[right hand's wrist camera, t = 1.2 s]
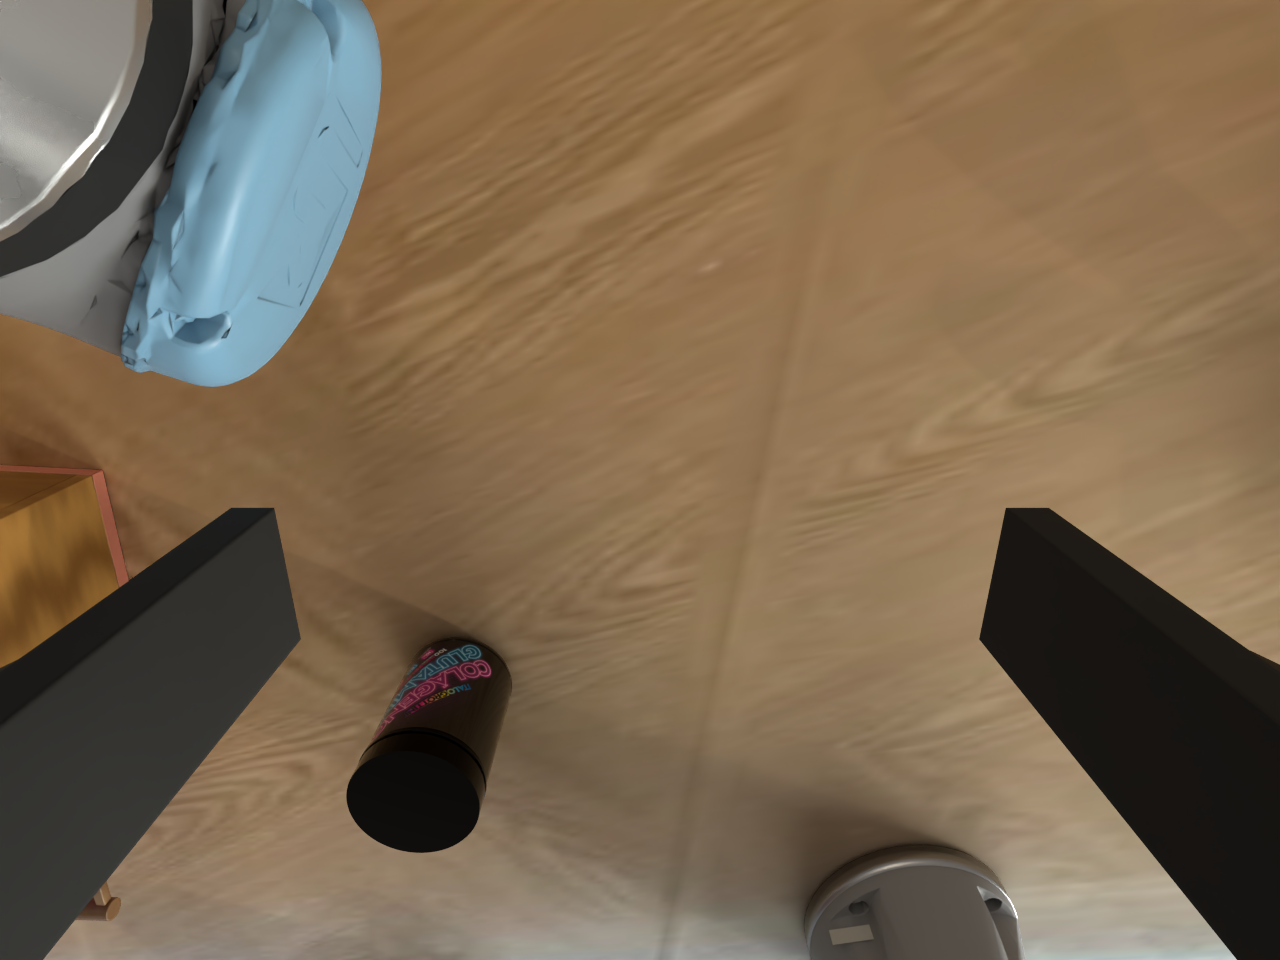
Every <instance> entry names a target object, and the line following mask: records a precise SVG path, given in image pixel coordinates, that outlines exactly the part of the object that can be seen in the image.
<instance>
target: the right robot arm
mask: <svg viewBox="0 0 1280 960" xmlns="http://www.w3.org/2000/svg"><path fill="white" fill-rule="evenodd" d="M300 639H301V638H300V633H299V628H298V624H297V619H296V614H295V609H294V604H293V599H292V594H291V589H290V584H289V579H288V574H287V569H286V564H285V559H284V554H283V550H282V545H281V540H280V535H279V530H278V525H277V520H276V515H275V510H274V508H231V509H229V510H228V511H226V512H225V513H224V514H222V515H221V516H219V517H218V518H217V519H215V520H214V521H212V522H211V523H209V524H208V525H207V526H205V527H204V528H202V529H201V530H200V531H198V532H197V533H195V534H194V535H193V536H191V537H190V538H188V539H187V540H186V541H184V542H183V543H181V544H180V545H179V546H177V547H176V548H174V549H173V550H171V551H170V552H169V553H167V554H166V555H164V556H163V557H162V558H160V559H159V560H157V561H156V562H155V563H153V564H152V565H150V566H149V567H148V568H146V569H145V570H143V571H142V572H141V573H139V574H138V575H136V576H135V577H133V578H132V579H131V580H129V581H128V582H126V583H125V584H124V585H122V586H121V587H119V588H118V589H117V590H115V591H114V592H112V593H111V594H110V595H108V596H107V597H105V598H104V599H103V600H101V601H100V602H98V603H97V604H96V605H94V606H93V607H91V608H90V609H88V610H87V611H86V612H84V613H83V614H81V615H80V616H79V617H77V618H76V619H74V620H73V621H72V622H70V623H69V624H67V625H66V626H65V627H63V628H62V629H60V630H59V631H58V632H56V633H55V634H53V635H52V636H50V637H49V638H48V639H46V640H45V641H43V642H42V643H41V644H39V645H38V646H36V647H35V648H34V649H32V650H31V651H29V652H28V653H27V654H25V655H24V656H22V657H21V658H20V659H18V660H16V661H13V662H11V663H9V664H7V665H5V666H3V667H1V668H0V960H43V959H44V958H45V956H46V955H47V954H48V953H49V951H50V950H51V949H52V948H53V946H54V945H55V944H56V943H57V941H58V940H59V939H60V938H61V937H62V935H63V934H64V933H65V932H66V930H67V929H68V928H69V927H70V925H71V924H72V923H73V922H74V920H75V919H76V918H77V917H78V915H79V914H80V913H81V912H82V910H83V909H84V908H85V907H86V905H87V904H88V903H89V902H90V900H91V899H92V898H93V897H94V895H95V894H96V893H97V892H98V891H99V889H100V888H101V887H102V886H103V884H104V883H105V882H106V881H107V879H108V878H109V877H110V876H111V874H112V873H113V872H114V871H115V869H116V868H117V867H118V866H119V864H120V863H121V862H122V861H123V859H124V858H125V857H126V856H127V854H128V853H129V852H130V851H131V850H132V848H133V847H134V846H135V845H136V843H137V842H138V841H139V840H140V838H141V837H142V836H143V835H144V833H145V832H146V831H147V830H148V828H149V827H150V826H151V825H152V823H153V822H154V821H155V820H156V818H157V817H158V816H159V815H160V813H161V812H162V811H163V810H164V808H165V807H166V806H167V805H168V804H169V802H170V801H171V800H172V799H173V797H174V796H175V795H176V794H177V792H178V791H179V790H180V789H181V787H182V786H183V785H184V784H185V782H186V781H187V780H188V779H189V777H190V776H191V775H192V774H193V772H194V771H195V770H196V769H197V767H198V766H199V765H200V764H201V763H202V761H203V760H204V759H205V758H206V756H207V755H208V754H209V753H210V751H211V750H212V749H213V748H214V746H215V745H216V744H217V743H218V741H219V740H220V739H221V738H222V736H223V735H224V734H225V733H226V731H227V730H228V729H229V728H230V726H231V725H232V724H233V723H234V722H235V720H236V719H237V718H238V717H239V715H240V714H241V713H242V712H243V710H244V709H245V708H246V707H247V705H248V704H249V703H250V702H251V700H252V699H253V698H254V697H255V695H256V694H257V693H258V692H259V690H260V689H261V688H262V687H263V685H264V684H265V683H266V682H267V680H268V679H269V678H270V677H271V676H272V674H273V673H274V672H275V671H276V669H277V668H278V667H279V666H280V664H281V663H282V662H283V661H284V659H285V658H286V657H287V656H288V654H289V653H290V652H291V651H292V649H293V648H294V647H295V646H296V644H297V643H298V642H299V641H300ZM979 639H980V641H981V642H982V643H983V644H984V646H985V647H986V648H987V649H988V651H989V652H990V653H991V654H992V656H993V657H994V658H995V659H996V661H997V662H998V663H999V664H1000V666H1001V667H1002V668H1003V669H1004V671H1005V672H1006V673H1007V674H1008V676H1009V677H1010V678H1011V679H1012V680H1013V682H1014V683H1015V684H1016V685H1017V687H1018V688H1019V689H1020V690H1021V692H1022V693H1023V694H1024V695H1025V697H1026V698H1027V699H1028V700H1029V702H1030V703H1031V704H1032V705H1033V707H1034V708H1035V709H1036V710H1037V712H1038V713H1039V714H1040V715H1041V717H1042V718H1043V719H1044V720H1045V722H1046V723H1047V724H1048V725H1049V726H1050V728H1051V729H1052V730H1053V731H1054V733H1055V734H1056V735H1057V736H1058V738H1059V739H1060V740H1061V741H1062V743H1063V744H1064V745H1065V746H1066V748H1067V749H1068V750H1069V751H1070V753H1071V754H1072V755H1073V756H1074V758H1075V759H1076V760H1077V761H1078V763H1079V764H1080V765H1081V766H1082V767H1083V769H1084V770H1085V771H1086V772H1087V774H1088V775H1089V776H1090V777H1091V779H1092V780H1093V781H1094V782H1095V784H1096V785H1097V786H1098V787H1099V789H1100V790H1101V791H1102V792H1103V794H1104V795H1105V796H1106V797H1107V799H1108V800H1109V801H1110V802H1111V804H1112V805H1113V806H1114V807H1115V808H1116V810H1117V811H1118V812H1119V813H1120V815H1121V816H1122V817H1123V818H1124V820H1125V821H1126V822H1127V823H1128V825H1129V826H1130V827H1131V828H1132V830H1133V831H1134V832H1135V833H1136V835H1137V836H1138V837H1139V838H1140V840H1141V841H1142V842H1143V843H1144V845H1145V846H1146V847H1147V848H1148V850H1149V851H1150V852H1151V853H1152V854H1153V856H1154V857H1155V858H1156V859H1157V861H1158V862H1159V863H1160V864H1161V866H1162V867H1163V868H1164V869H1165V871H1166V872H1167V873H1168V874H1169V876H1170V877H1171V878H1172V879H1173V881H1174V882H1175V883H1176V884H1177V886H1178V887H1179V888H1180V889H1181V891H1182V892H1183V893H1184V894H1185V895H1186V897H1187V898H1188V899H1189V900H1190V902H1191V903H1192V904H1193V905H1194V907H1195V908H1196V909H1197V910H1198V912H1199V913H1200V914H1201V915H1202V917H1203V918H1204V919H1205V920H1206V922H1207V923H1208V924H1209V925H1210V927H1211V928H1212V929H1213V930H1214V932H1215V933H1216V934H1217V935H1218V937H1219V938H1220V939H1221V940H1222V941H1223V943H1224V944H1225V945H1226V946H1227V948H1228V949H1229V950H1230V951H1231V953H1232V954H1233V955H1234V956H1235V958H1236V959H1237V960H1280V665H1279V664H1277V663H1275V662H1273V661H1271V660H1269V659H1267V658H1265V657H1262V656H1260V655H1258V654H1256V653H1254V652H1252V651H1249V650H1248V649H1246V648H1245V647H1244V646H1242V645H1241V644H1239V643H1238V642H1237V641H1235V640H1234V639H1232V638H1231V637H1230V636H1228V635H1227V634H1225V633H1224V632H1222V631H1221V630H1220V629H1218V628H1217V627H1215V626H1214V625H1213V624H1211V623H1210V622H1208V621H1207V620H1206V619H1204V618H1203V617H1201V616H1200V615H1199V614H1197V613H1196V612H1194V611H1193V610H1192V609H1190V608H1189V607H1187V606H1186V605H1184V604H1183V603H1182V602H1180V601H1179V600H1177V599H1176V598H1175V597H1173V596H1172V595H1170V594H1169V593H1168V592H1166V591H1165V590H1163V589H1162V588H1161V587H1159V586H1158V585H1156V584H1155V583H1154V582H1152V581H1151V580H1149V579H1148V578H1147V577H1145V576H1144V575H1142V574H1141V573H1139V572H1138V571H1137V570H1135V569H1134V568H1132V567H1131V566H1130V565H1128V564H1127V563H1125V562H1124V561H1123V560H1121V559H1120V558H1118V557H1117V556H1116V555H1114V554H1113V553H1111V552H1110V551H1109V550H1107V549H1106V548H1104V547H1103V546H1101V545H1100V544H1099V543H1097V542H1096V541H1094V540H1093V539H1092V538H1090V537H1089V536H1087V535H1086V534H1085V533H1083V532H1082V531H1080V530H1079V529H1078V528H1076V527H1075V526H1073V525H1072V524H1071V523H1069V522H1068V521H1066V520H1065V519H1063V518H1062V517H1061V516H1059V515H1058V514H1056V513H1055V512H1054V511H1052V510H1051V509H1049V508H1006V510H1005V515H1004V520H1003V525H1002V530H1001V535H1000V540H999V545H998V550H997V554H996V559H995V564H994V569H993V574H992V579H991V584H990V589H989V594H988V599H987V604H986V609H985V614H984V619H983V623H982V628H981V633H980V638H979ZM804 929H805V936H806V941H807V945H808V949H809V954H810V958H811V960H1025V954H1024V949H1023V943H1022V938H1021V933H1020V927H1019V923H1018V919H1017V915H1016V911H1015V909H1014V906H1013V904H1012V902H1011V900H1010V899H1009V897H1008V895H1007V893H1006V891H1005V889H1004V888H1003V886H1002V884H1001V882H1000V881H999V879H998V877H997V876H996V875H995V874H994V873H993V871H991V870H990V869H989V868H988V867H987V866H986V865H985V864H983V863H982V862H981V861H979V860H977V859H976V858H974V857H972V856H970V855H968V854H965V853H963V852H960V851H957V850H953V849H949V848H945V847H939V846H930V845H909V846H900V847H893V848H888V849H884V850H880V851H877V852H873V853H871V854H868V855H865V856H863V857H861V858H858V859H856V860H854V861H852V862H850V863H849V864H847V865H845V866H844V867H842V868H841V869H839V870H838V871H836V872H835V873H834V874H833V875H831V876H830V877H829V878H828V879H827V880H826V881H825V882H824V883H823V884H822V885H821V886H820V887H819V889H818V890H817V891H816V893H815V894H814V896H813V898H812V899H811V901H810V904H809V906H808V908H807V912H806V915H805V923H804Z"/></svg>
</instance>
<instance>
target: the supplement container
mask: <svg viewBox="0 0 1280 960" xmlns="http://www.w3.org/2000/svg"><path fill="white" fill-rule="evenodd" d="M511 692H512V680H511V675H510V672H509V669H508V667H507V665H506V663H505V662H504V660H503V659H502V658H501V656H500V655H499V654H498V653H497V652H496V651H494V650H493V649H492V648H490V647H489V646H487V645H486V644H484V643H482V642H479V641H477V640H474V639H469V638H464V637H451V638H444V639H440V640H437V641H435V642H433V643H431V644H429V645H427V646H426V647H424V648H423V649H421V650H420V651H419V652H418V653H417V654H416V655H415V657H414V658H413V660H412V662H411V664H410V665H409V667H408V669H407V671H406V673H405V675H404V677H403V679H402V681H401V683H400V685H399V687H398V689H397V691H396V693H395V695H394V697H393V699H392V701H391V703H390V704H389V706H388V708H387V710H386V712H385V714H384V716H383V718H382V720H381V722H380V724H379V726H378V728H377V730H376V732H375V734H374V736H373V738H372V740H371V742H370V744H369V745H368V747H367V748H366V750H365V751H364V753H363V755H362V756H361V758H360V761H359V763H358V766H357V768H356V769H355V771H354V773H353V775H352V777H351V779H350V781H349V784H348V788H347V804H348V808H349V811H350V813H351V815H352V817H353V819H354V821H355V822H356V823H357V825H358V826H359V827H360V828H361V829H362V830H363V831H364V832H365V833H366V834H367V835H369V836H370V837H371V838H373V839H374V840H376V841H378V842H380V843H382V844H384V845H386V846H388V847H391V848H394V849H397V850H401V851H407V852H415V853H425V852H435V851H439V850H443V849H446V848H449V847H451V846H454V845H455V844H457V843H459V842H460V841H462V840H463V839H464V838H466V837H467V836H468V835H469V834H470V833H471V831H472V830H473V828H474V827H475V825H476V823H477V820H478V817H479V813H480V810H481V806H482V802H483V800H484V797H485V793H486V788H487V781H488V778H489V774H490V770H491V766H492V763H493V759H494V755H495V752H496V748H497V744H498V740H499V737H500V733H501V729H502V726H503V722H504V718H505V714H506V711H507V707H508V703H509V700H510V696H511Z"/></svg>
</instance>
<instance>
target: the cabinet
mask: <svg viewBox="0 0 1280 960" xmlns="http://www.w3.org/2000/svg"><path fill="white" fill-rule="evenodd" d="M128 581H129V580H128V576H127V571H126V567H125V563H124V559H123V554H122V550H121V546H120V542H119V538H118V533H117V529H116V525H115V521H114V516H113V512H112V508H111V504H110V500H109V495H108V491H107V487H106V483H105V478H104V474H103V470H92V469H72V468H52V467H32V466H12V465H0V668H1V667H3V666H5V665H7V664H9V663H11V662H13V661H16V660H18V659H20V658H21V657H22V656H24V655H25V654H27V653H28V652H29V651H31V650H32V649H34V648H35V647H36V646H38V645H39V644H41V643H42V642H43V641H45V640H46V639H48V638H49V637H50V636H52V635H53V634H55V633H56V632H58V631H59V630H60V629H62V628H63V627H65V626H66V625H67V624H69V623H70V622H72V621H73V620H74V619H76V618H77V617H79V616H80V615H81V614H83V613H84V612H86V611H87V610H88V609H90V608H91V607H93V606H94V605H96V604H97V603H98V602H100V601H101V600H103V599H104V598H105V597H107V596H108V595H110V594H111V593H112V592H114V591H115V590H117V589H118V588H119V587H121V586H122V585H124V584H125V583H126V582H128Z"/></svg>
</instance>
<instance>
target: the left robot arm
mask: <svg viewBox="0 0 1280 960" xmlns="http://www.w3.org/2000/svg"><path fill="white" fill-rule="evenodd" d="M380 92H381V57H380V48H379V41H378V37H377V33H376V29H375V26H374V23H373V20H372V18H371V15H370V14H369V12H368V10H367V8H366V6H365V5H364V3H363V2H362V0H0V314H3V315H7V316H11V317H14V318H18V319H21V320H25V321H28V322H31V323H35V324H38V325H41V326H44V327H47V328H50V329H53V330H56V331H58V332H61V333H64V334H66V335H69V336H72V337H74V338H77V339H79V340H81V341H84V342H86V343H89V344H91V345H93V346H96V347H98V348H101V349H103V350H105V351H108V352H110V353H113V354H115V355H118V356H120V357H121V360H122V362H124V365H125V367H127V368H129V369H131V370H133V371H136V372H140V373H142V372H146V371H149V370H151V371H154V372H157V373H160V374H163V375H166V376H169V377H172V378H176V379H179V380H182V381H185V382H188V383H191V384H195V385H200V386H208V387H217V386H224V385H228V384H232V383H234V382H237V381H239V380H242V379H244V378H246V377H248V376H250V375H251V374H253V373H254V372H256V371H257V370H258V369H260V368H261V367H262V366H263V365H265V364H266V363H267V362H268V361H269V360H270V359H271V358H272V357H273V356H274V355H275V354H276V353H277V351H278V350H279V349H280V348H281V347H282V346H283V344H284V343H285V342H286V341H287V339H288V338H289V337H290V335H291V334H292V332H293V331H294V330H295V328H296V327H297V325H298V324H299V322H300V321H301V320H302V318H303V317H304V315H305V313H306V312H307V310H308V309H309V307H310V305H311V303H312V302H313V300H314V298H315V296H316V294H317V293H318V291H319V289H320V287H321V285H322V283H323V281H324V279H325V277H326V275H327V273H328V271H329V269H330V267H331V265H332V262H333V260H334V258H335V256H336V253H337V251H338V249H339V247H340V244H341V242H342V239H343V237H344V234H345V232H346V229H347V227H348V224H349V221H350V219H351V216H352V213H353V210H354V207H355V204H356V202H357V199H358V195H359V192H360V189H361V186H362V183H363V179H364V175H365V172H366V168H367V165H368V161H369V157H370V152H371V148H372V143H373V138H374V134H375V129H376V123H377V117H378V111H379V103H380Z"/></svg>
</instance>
